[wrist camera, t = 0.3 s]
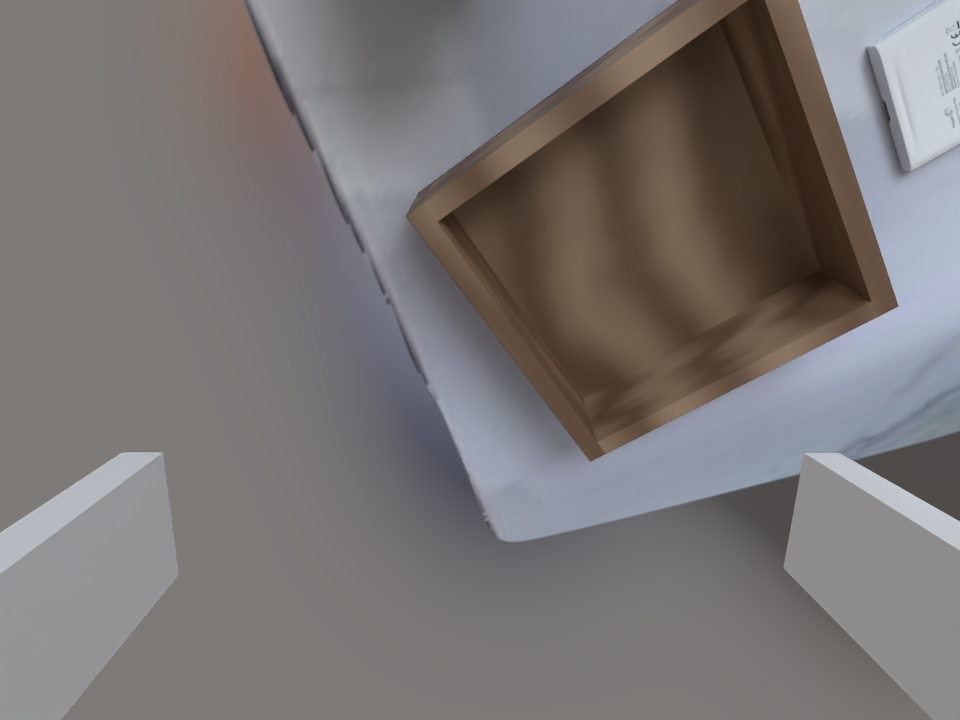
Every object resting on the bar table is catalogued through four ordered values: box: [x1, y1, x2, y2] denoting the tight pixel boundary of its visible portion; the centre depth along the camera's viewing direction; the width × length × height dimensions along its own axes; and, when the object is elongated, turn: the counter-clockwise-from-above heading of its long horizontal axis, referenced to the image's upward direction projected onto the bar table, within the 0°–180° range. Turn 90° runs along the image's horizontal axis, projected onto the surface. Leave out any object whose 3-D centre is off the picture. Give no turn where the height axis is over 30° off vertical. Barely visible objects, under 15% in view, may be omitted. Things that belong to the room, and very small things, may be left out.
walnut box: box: [406, 0, 898, 462], centre depth 32 cm, size 20×20×6 cm
